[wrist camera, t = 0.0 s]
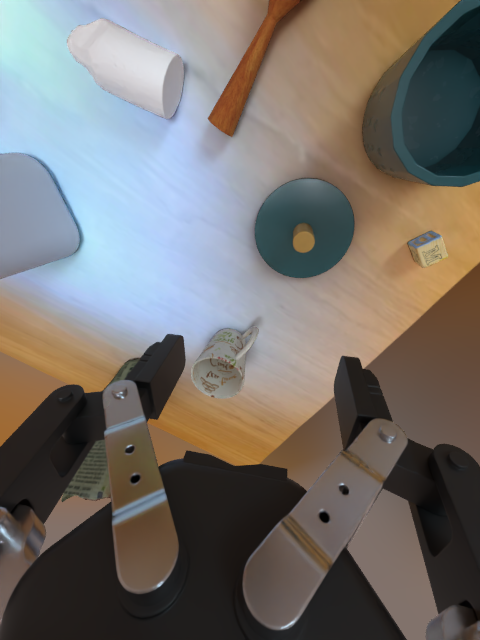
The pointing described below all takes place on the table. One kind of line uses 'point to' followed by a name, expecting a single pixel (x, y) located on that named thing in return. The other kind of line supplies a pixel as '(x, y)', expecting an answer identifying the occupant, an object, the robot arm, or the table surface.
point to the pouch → (95, 462)
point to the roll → (129, 66)
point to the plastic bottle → (31, 217)
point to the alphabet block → (428, 249)
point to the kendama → (247, 70)
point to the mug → (223, 363)
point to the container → (431, 106)
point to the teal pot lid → (304, 228)
